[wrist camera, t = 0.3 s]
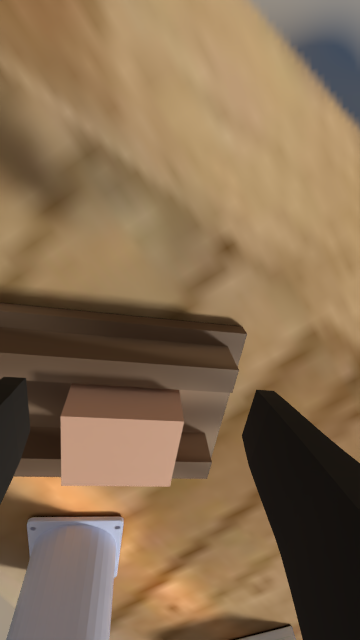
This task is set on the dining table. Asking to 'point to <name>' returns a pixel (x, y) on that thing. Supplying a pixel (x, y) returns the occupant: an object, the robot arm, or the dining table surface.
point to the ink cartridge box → (274, 635)
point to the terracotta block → (120, 435)
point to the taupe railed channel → (118, 373)
